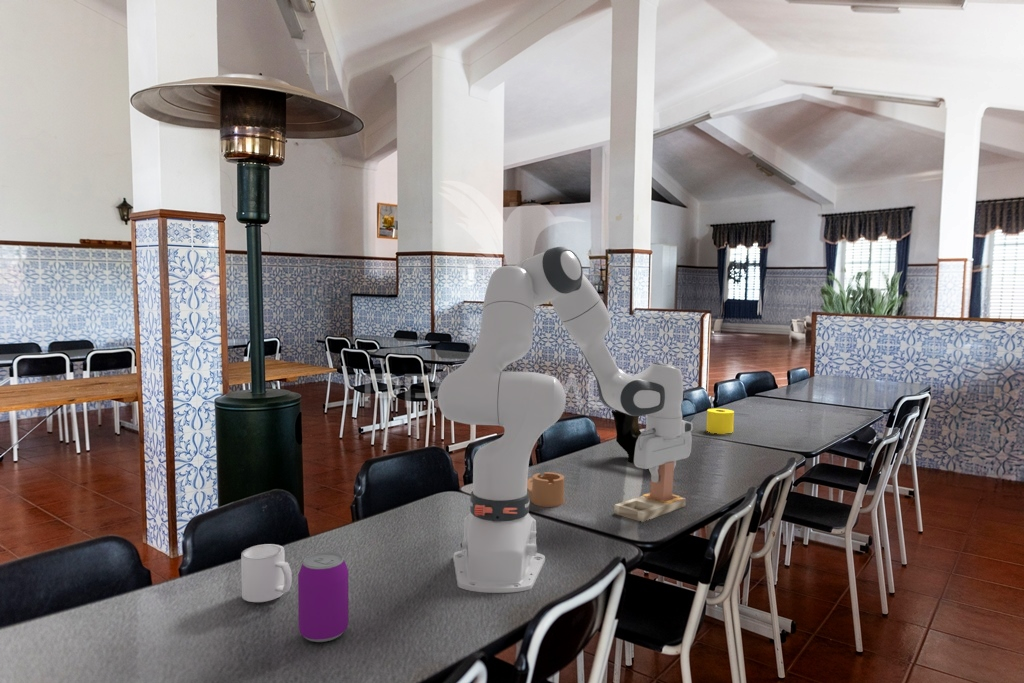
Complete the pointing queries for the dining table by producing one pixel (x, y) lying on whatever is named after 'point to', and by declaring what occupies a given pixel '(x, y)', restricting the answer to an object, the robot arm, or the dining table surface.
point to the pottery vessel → (627, 432)
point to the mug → (264, 573)
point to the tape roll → (720, 421)
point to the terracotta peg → (663, 483)
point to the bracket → (546, 489)
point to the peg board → (648, 507)
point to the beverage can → (323, 596)
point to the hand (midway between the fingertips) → (662, 479)
